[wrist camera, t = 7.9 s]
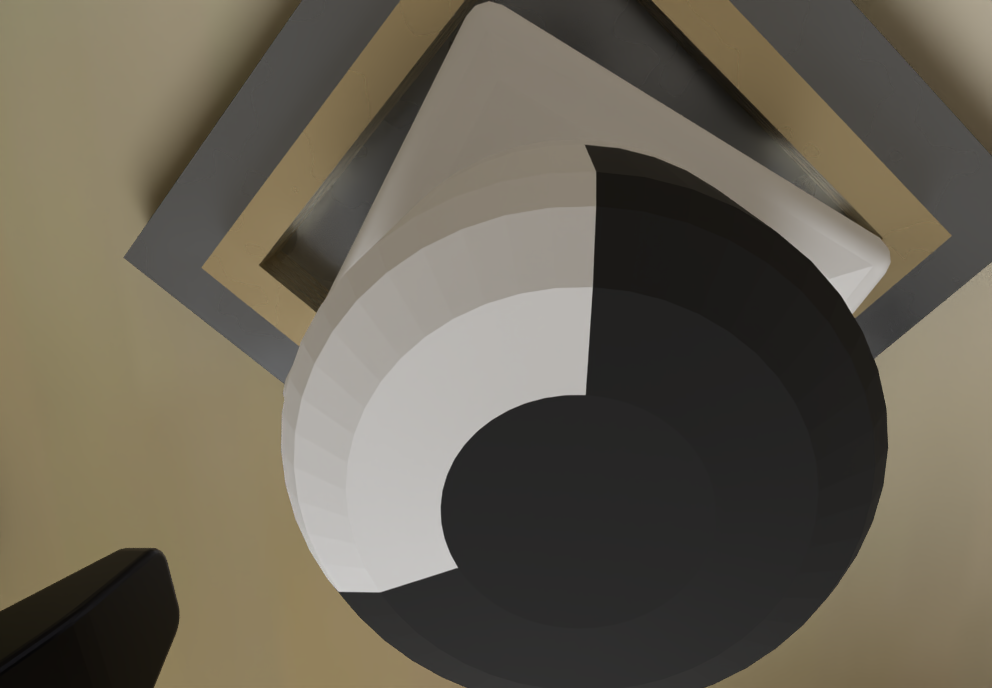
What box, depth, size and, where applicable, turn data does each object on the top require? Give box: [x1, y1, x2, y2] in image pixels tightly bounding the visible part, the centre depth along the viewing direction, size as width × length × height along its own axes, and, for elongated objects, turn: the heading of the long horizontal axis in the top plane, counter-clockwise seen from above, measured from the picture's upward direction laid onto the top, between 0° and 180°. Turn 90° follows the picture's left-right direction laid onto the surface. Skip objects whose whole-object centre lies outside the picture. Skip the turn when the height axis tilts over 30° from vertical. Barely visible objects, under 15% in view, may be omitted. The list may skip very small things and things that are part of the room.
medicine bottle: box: [281, 1, 891, 688], centre depth 12 cm, size 7×7×12 cm
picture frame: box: [124, 0, 992, 384], centre depth 18 cm, size 16×16×3 cm
